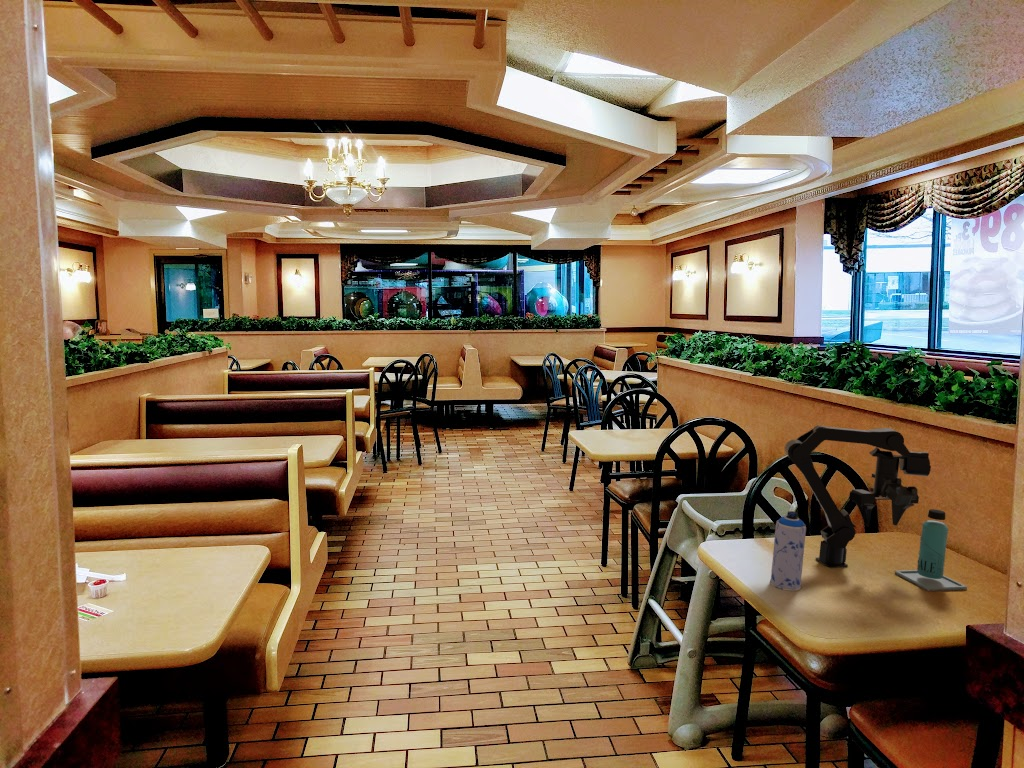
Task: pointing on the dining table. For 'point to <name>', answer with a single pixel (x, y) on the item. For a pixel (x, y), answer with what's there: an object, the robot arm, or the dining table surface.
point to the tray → (930, 581)
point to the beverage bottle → (933, 546)
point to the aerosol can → (788, 552)
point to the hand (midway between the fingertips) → (880, 525)
